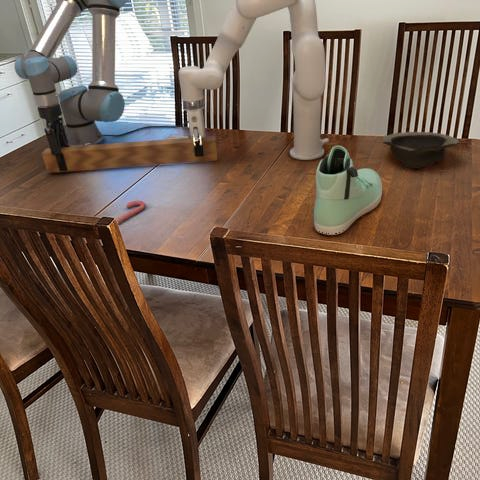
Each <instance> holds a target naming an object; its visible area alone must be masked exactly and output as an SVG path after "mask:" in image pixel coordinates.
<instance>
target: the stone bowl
mask: <svg viewBox="0 0 480 480" xmlns="http://www.w3.org/2000/svg"><path fill="white" fill-rule="evenodd" d="M381 142H382V144H384V145H386V146H390V151H391V154H392V155H393V156H394V157H395V159H397V160H399V161H401V163H402V164H401V165H402V167H404V168H411V169H420V168H429V167H432V166H433V165H434V163H435V162H436V163H439V162H443V161H444V159H445V157H446V149H448V148H452V147H455V146H456V145H458V144H460V143H461V141H460V140H459V139H457V138H455V137H453V136H451V135H447V134H444V133H440V132H430V131H405V132H395V133H390V134H387V135H384V136H382V138H381Z"/></svg>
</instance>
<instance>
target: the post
mask: <svg viewBox="0 0 480 480" xmlns="http://www.w3.org/2000/svg"><path fill="white" fill-rule="evenodd" d="M216 137H217V136H216V135H209V136H207V135H205V137H204V138H203V137H201V141H202V145H203V152H204V156H200V157H195V152H194V140H193V139H192V138H191V137H188V138H180V139H166V140H164V139H155V140H154V139H153V140H142V141H141V140H139V141H128V142H114V143H101V144H99V145H86V146H72V147H61V152H62V153H63V155H64V159H65V162H66V166H67V169H68V170H67V171H60V170H59V167H58V164H57V160H56V157H55V155H52V153H51V149H50V147H48V148H45V149H44V150H43V151H42V152H41V155H42V159H43V162H44V165H45V169H46V173H48V174H51V173H52V174H53V173H64V172H77V171H78V172H79V171H89V170H90V171H91V170H105V169H116V168H130V167H131V168H132V167H133V168H134V167H144V166H158V165H159V166H160V165H171V164H173V165H174V164H181V163H182V164H184V163H185V164H186V163H198V162H213V161H218V147H217V138H216ZM199 141H200V139H199Z"/></svg>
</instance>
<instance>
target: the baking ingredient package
mask: <svg viewBox="0 0 480 480" xmlns="http://www.w3.org/2000/svg"><path fill="white" fill-rule="evenodd" d="M180 138H189V136H186V135H178V134H177V135H176V134H171V135H169V136H167V137H165V138H163V140H166V139H180Z"/></svg>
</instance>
